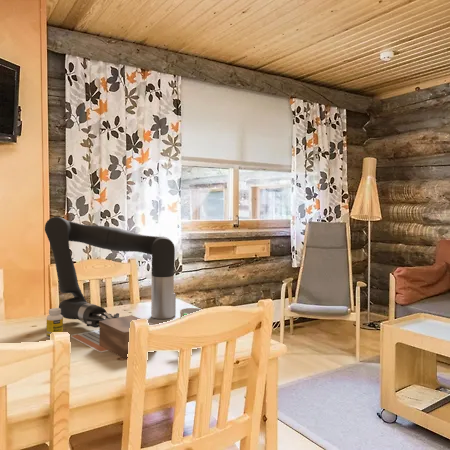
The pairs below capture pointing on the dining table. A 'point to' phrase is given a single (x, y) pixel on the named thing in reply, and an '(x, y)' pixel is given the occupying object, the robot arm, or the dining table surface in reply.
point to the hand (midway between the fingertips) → (115, 324)
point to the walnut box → (116, 334)
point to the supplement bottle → (54, 321)
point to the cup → (188, 311)
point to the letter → (90, 340)
